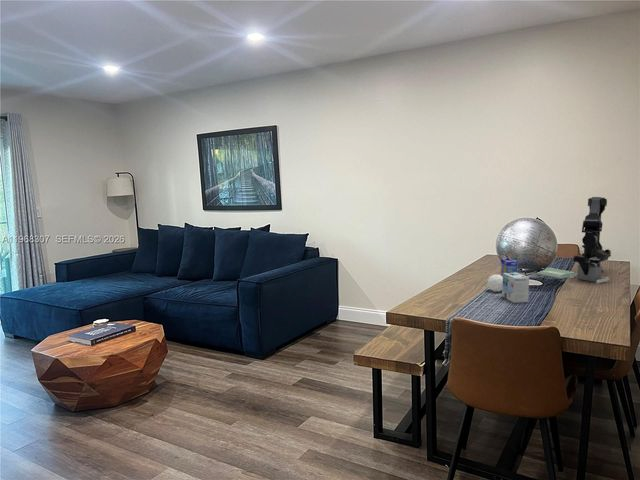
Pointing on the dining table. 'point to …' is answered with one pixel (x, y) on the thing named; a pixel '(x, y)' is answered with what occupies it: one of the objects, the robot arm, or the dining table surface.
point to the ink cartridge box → (508, 265)
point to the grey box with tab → (590, 273)
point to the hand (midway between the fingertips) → (589, 274)
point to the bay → (603, 279)
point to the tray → (555, 273)
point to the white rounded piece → (495, 283)
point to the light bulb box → (515, 287)
